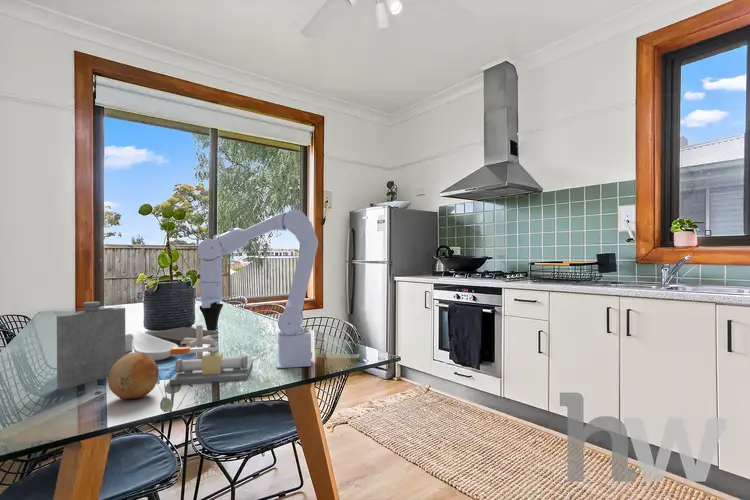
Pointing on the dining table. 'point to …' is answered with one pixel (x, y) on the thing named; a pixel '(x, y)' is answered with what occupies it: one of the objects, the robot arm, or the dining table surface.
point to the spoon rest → (149, 345)
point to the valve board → (211, 376)
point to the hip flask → (89, 344)
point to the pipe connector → (199, 340)
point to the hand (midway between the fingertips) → (211, 330)
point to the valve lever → (192, 350)
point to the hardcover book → (180, 334)
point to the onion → (133, 376)
